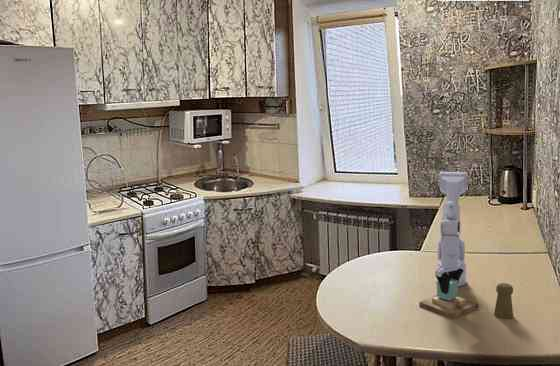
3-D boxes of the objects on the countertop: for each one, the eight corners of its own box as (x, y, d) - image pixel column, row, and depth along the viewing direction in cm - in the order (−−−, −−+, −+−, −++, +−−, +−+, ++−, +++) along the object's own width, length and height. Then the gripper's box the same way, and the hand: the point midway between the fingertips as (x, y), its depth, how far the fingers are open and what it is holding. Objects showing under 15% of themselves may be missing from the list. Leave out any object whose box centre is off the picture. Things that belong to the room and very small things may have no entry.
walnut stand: (444, 295, 199) (445, 287, 198) (478, 307, 188) (478, 299, 187) (419, 305, 191) (419, 297, 191) (452, 318, 180) (452, 310, 179)
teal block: (444, 292, 193) (444, 276, 192) (457, 296, 189) (457, 280, 188) (437, 296, 189) (436, 280, 188) (449, 300, 186) (449, 283, 185)
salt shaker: (501, 320, 177) (503, 288, 175) (489, 313, 183) (491, 282, 181) (517, 317, 179) (518, 286, 177) (505, 310, 185) (506, 280, 183)
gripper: (451, 246, 193) (450, 282, 196) (427, 255, 184) (427, 293, 187) (469, 250, 188) (468, 287, 191) (446, 260, 179) (445, 299, 181)
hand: (448, 290), depth 188 cm, fingers closed on teal block, 5 cm apart
